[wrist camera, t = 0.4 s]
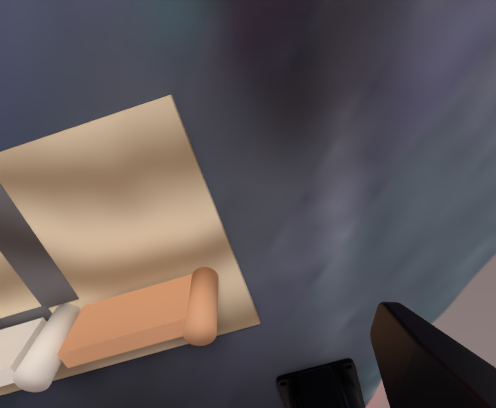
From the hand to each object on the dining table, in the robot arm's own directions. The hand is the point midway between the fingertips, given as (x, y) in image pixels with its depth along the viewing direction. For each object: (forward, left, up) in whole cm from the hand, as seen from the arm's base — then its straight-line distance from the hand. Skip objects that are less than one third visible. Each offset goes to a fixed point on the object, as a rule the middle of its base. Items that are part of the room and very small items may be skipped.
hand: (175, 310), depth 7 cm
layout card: (-5, +13, -13) cm, 19 cm away
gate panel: (-8, +7, -13) cm, 17 cm away
